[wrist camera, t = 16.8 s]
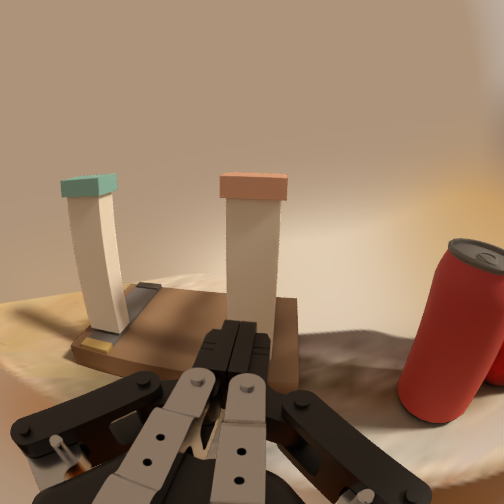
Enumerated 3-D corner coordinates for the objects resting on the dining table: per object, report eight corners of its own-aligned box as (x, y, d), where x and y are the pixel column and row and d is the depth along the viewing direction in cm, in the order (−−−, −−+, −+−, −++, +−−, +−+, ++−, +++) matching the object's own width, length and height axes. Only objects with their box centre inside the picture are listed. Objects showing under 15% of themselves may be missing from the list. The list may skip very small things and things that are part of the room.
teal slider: (134, 320, 24) (116, 173, 19) (121, 336, 21) (98, 178, 17) (100, 314, 24) (79, 176, 20) (86, 328, 22) (60, 180, 18)
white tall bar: (276, 342, 22) (287, 174, 18) (274, 363, 20) (287, 178, 15) (229, 338, 22) (228, 172, 18) (223, 358, 20) (219, 175, 16)
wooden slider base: (295, 315, 30) (297, 294, 29) (295, 402, 19) (299, 379, 18) (134, 299, 32) (130, 280, 31) (77, 363, 21) (69, 341, 20)
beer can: (388, 418, 17) (447, 258, 13) (399, 364, 22) (437, 229, 18) (466, 432, 14) (544, 281, 10) (464, 377, 19) (513, 247, 15)
